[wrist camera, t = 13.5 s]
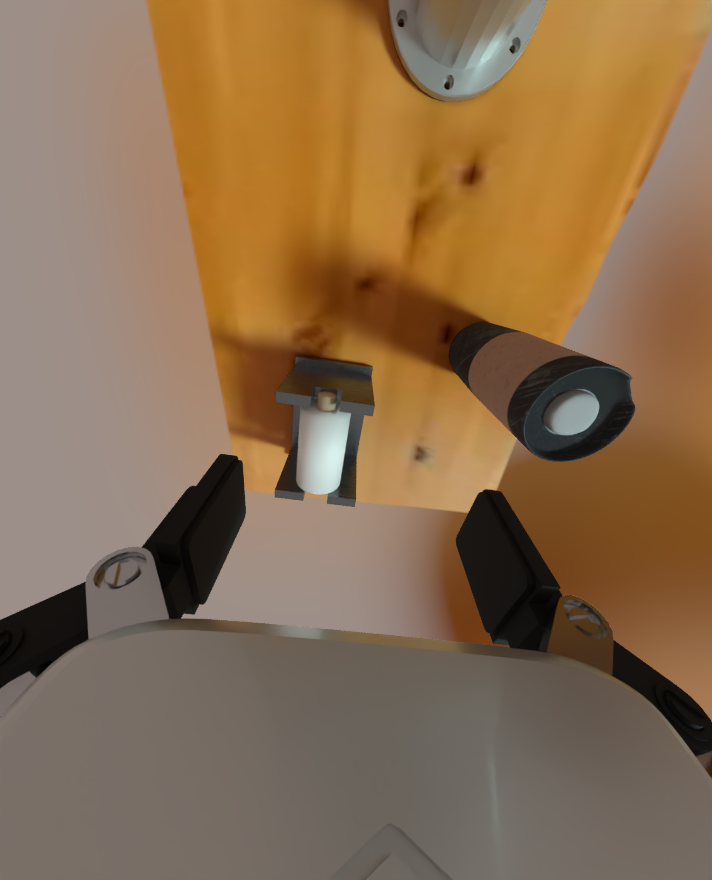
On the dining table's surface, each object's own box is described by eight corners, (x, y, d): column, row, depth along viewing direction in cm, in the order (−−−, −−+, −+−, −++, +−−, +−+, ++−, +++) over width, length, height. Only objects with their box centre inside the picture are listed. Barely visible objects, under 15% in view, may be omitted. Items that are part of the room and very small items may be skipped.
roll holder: (297, 354, 37) (276, 381, 28) (372, 366, 38) (376, 396, 29) (292, 455, 45) (274, 503, 36) (354, 463, 46) (353, 512, 37)
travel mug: (437, 371, 38) (500, 451, 21) (461, 311, 35) (563, 349, 17) (489, 385, 39) (590, 473, 22) (518, 328, 36) (668, 380, 18)
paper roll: (305, 382, 33) (296, 401, 28) (353, 389, 33) (352, 409, 28) (299, 473, 40) (291, 501, 35) (339, 478, 40) (337, 506, 35)
